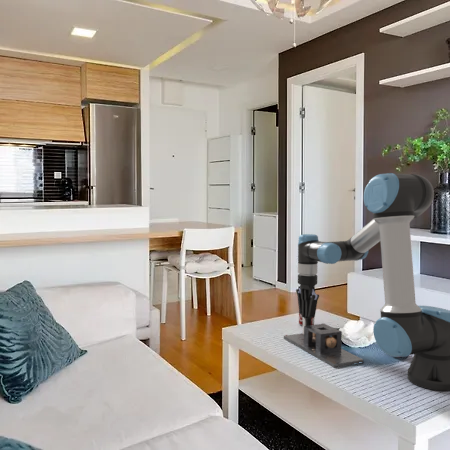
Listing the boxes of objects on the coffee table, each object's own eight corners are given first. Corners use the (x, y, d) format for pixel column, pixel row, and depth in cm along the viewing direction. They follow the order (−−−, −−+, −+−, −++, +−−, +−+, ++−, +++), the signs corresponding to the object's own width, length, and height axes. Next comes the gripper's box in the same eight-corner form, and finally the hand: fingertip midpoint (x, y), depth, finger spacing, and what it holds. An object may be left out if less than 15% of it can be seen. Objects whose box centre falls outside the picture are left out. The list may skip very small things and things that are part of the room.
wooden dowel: (336, 347, 170) (336, 337, 170) (327, 348, 168) (328, 338, 168) (311, 335, 184) (311, 325, 184) (303, 336, 183) (303, 326, 183)
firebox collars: (363, 363, 163) (364, 339, 162) (334, 367, 158) (334, 343, 157) (309, 335, 194) (309, 315, 193) (283, 338, 189) (283, 318, 189)
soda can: (316, 324, 210) (317, 298, 209) (310, 328, 204) (311, 301, 203) (302, 322, 213) (302, 296, 212) (296, 325, 207) (296, 299, 207)
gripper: (325, 276, 178) (324, 337, 180) (306, 270, 190) (305, 328, 192) (308, 277, 175) (307, 339, 177) (290, 272, 187) (289, 330, 189)
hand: (306, 333), depth 185 cm, fingers closed
